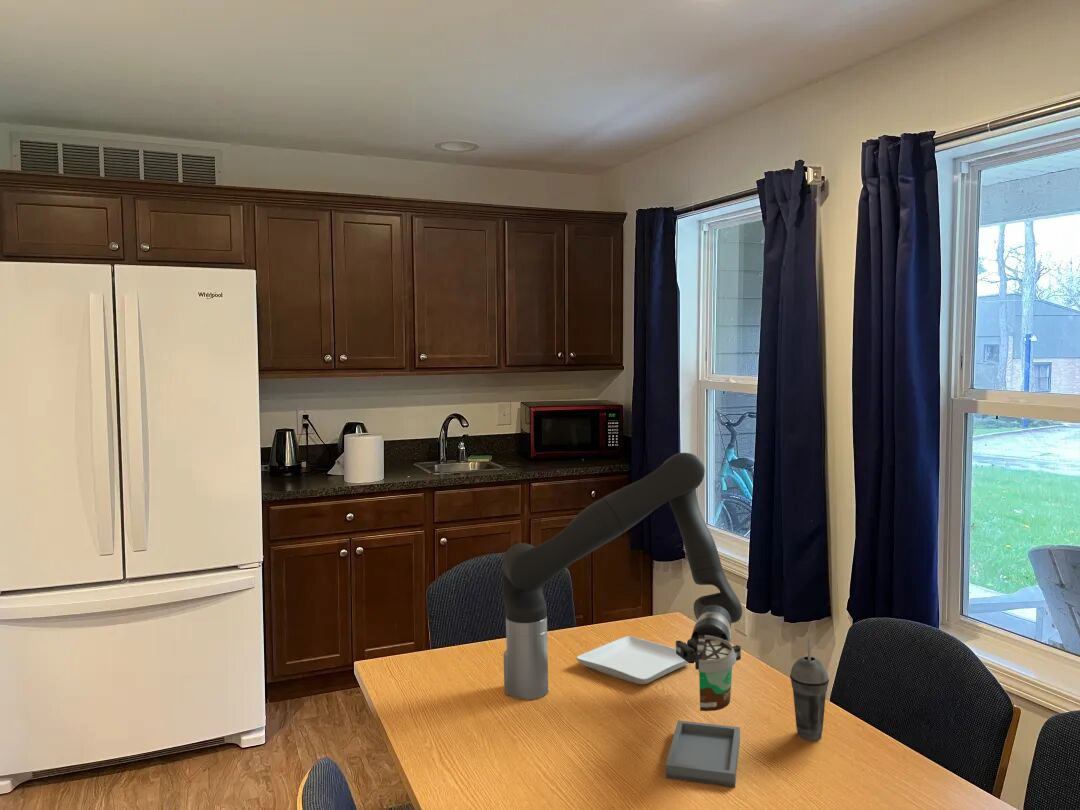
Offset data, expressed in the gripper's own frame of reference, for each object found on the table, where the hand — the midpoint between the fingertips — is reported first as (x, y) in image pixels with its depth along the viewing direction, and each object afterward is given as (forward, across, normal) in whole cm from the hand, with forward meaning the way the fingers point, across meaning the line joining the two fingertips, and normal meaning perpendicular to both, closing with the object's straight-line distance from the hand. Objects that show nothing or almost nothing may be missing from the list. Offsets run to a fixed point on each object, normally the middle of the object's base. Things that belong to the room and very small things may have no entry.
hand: (703, 667), depth 147 cm
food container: (0, +3, +6) cm, 7 cm away
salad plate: (-40, -20, +18) cm, 49 cm away
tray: (0, 0, +17) cm, 17 cm away
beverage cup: (-14, +19, +18) cm, 30 cm away
